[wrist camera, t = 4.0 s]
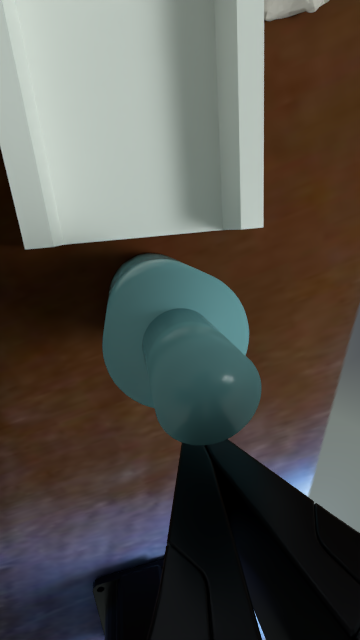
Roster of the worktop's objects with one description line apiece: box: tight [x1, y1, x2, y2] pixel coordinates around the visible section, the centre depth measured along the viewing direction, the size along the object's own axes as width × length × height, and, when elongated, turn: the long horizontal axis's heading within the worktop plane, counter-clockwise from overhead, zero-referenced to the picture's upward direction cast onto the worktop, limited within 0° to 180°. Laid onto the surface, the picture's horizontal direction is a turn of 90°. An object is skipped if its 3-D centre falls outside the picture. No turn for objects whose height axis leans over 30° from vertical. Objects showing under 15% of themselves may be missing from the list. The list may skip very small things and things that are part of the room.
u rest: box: [0, 0, 264, 250], centre depth 11 cm, size 12×9×3 cm
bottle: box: [102, 253, 261, 445], centre depth 10 cm, size 4×4×10 cm
